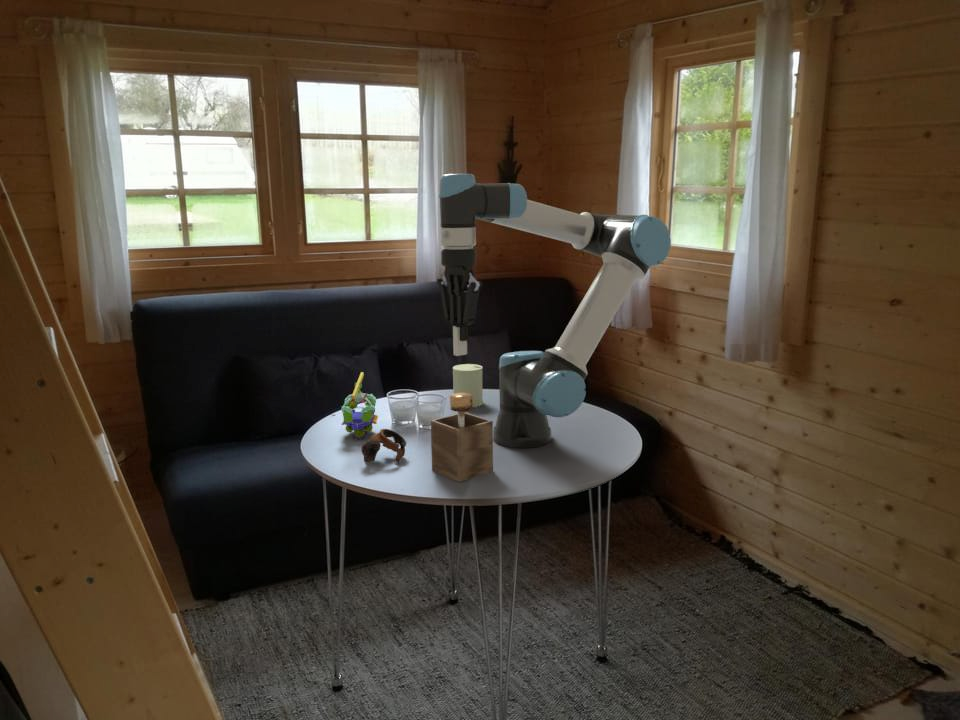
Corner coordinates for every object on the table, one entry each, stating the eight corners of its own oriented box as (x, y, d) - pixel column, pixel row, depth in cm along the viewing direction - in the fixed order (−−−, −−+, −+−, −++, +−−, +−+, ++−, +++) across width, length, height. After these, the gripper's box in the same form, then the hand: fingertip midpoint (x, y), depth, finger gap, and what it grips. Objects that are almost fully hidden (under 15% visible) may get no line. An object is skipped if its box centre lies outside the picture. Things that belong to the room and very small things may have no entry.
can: (483, 407, 218) (483, 368, 215) (453, 408, 217) (452, 369, 215) (482, 399, 227) (482, 362, 224) (453, 400, 226) (452, 362, 224)
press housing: (465, 459, 174) (464, 411, 172) (493, 471, 167) (492, 421, 164) (432, 470, 168) (430, 420, 165) (459, 482, 161) (458, 430, 158)
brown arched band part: (375, 451, 182) (391, 424, 181) (401, 474, 178) (417, 447, 177) (345, 454, 172) (361, 425, 170) (371, 478, 168) (388, 449, 166)
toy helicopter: (374, 450, 182) (371, 394, 179) (337, 451, 181) (334, 395, 178) (380, 420, 206) (378, 370, 203) (348, 421, 206) (345, 371, 202)
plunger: (464, 456, 173) (463, 389, 169) (486, 465, 167) (486, 395, 163) (437, 464, 168) (436, 395, 164) (459, 473, 162) (458, 402, 158)
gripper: (426, 247, 159) (429, 352, 164) (464, 249, 149) (466, 361, 154) (453, 245, 164) (455, 348, 169) (491, 248, 154) (492, 356, 159)
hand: (460, 354), depth 162 cm, fingers closed
